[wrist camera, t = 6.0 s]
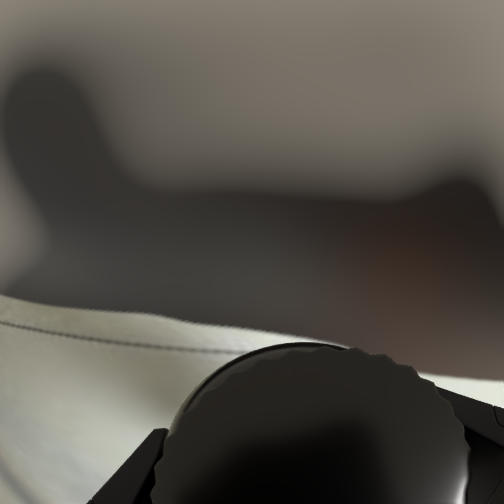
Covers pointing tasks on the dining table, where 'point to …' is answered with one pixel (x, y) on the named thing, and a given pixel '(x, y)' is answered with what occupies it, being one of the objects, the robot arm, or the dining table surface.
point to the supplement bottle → (314, 433)
